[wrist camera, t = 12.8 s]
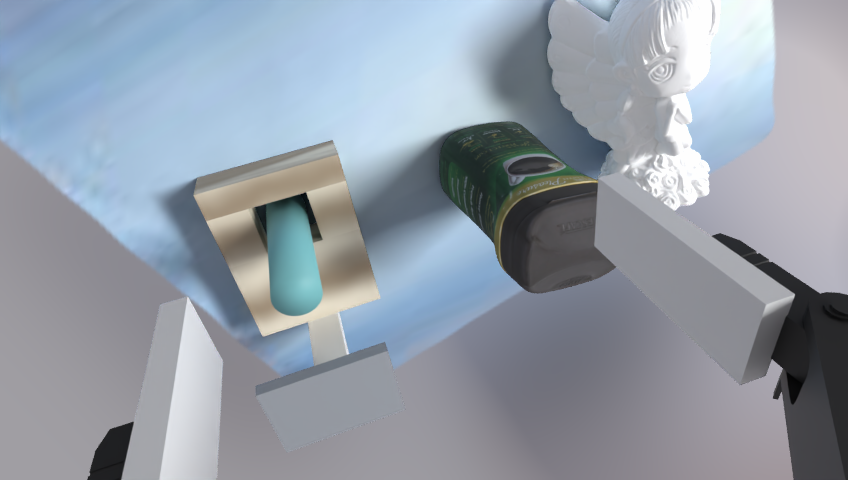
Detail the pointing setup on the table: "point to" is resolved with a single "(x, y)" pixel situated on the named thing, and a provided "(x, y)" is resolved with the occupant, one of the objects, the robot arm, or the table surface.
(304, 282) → the peg
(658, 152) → the cherub figurine
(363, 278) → the socket block
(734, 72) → the table surface
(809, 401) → the robot arm
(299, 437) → the light grey angular piece
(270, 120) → the table surface
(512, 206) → the coffee jar
